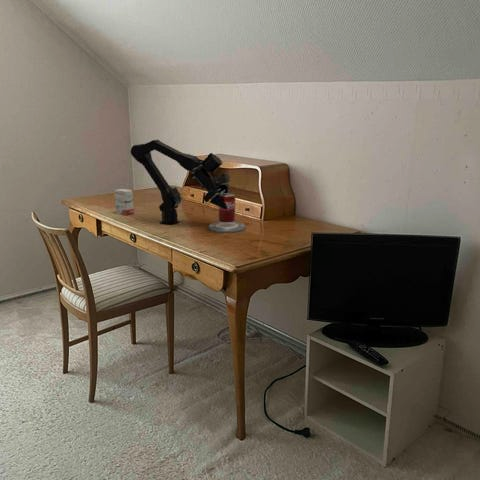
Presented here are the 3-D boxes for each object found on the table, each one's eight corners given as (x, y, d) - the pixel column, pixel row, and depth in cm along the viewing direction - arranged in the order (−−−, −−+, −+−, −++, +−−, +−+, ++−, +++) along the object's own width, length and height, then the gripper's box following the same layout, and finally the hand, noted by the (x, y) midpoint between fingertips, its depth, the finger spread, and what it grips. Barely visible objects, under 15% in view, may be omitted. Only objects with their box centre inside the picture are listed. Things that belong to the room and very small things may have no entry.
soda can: (220, 219, 223) (220, 192, 219) (236, 220, 222) (236, 193, 218) (216, 223, 216) (217, 195, 212) (233, 224, 215) (233, 196, 211)
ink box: (134, 214, 244) (133, 190, 241) (127, 215, 240) (125, 191, 237) (123, 211, 249) (121, 188, 246) (115, 213, 245) (113, 189, 242)
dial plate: (209, 223, 227) (209, 221, 227) (244, 223, 228) (244, 220, 227) (208, 232, 212) (208, 230, 211) (246, 232, 212) (246, 230, 212)
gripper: (210, 170, 205) (235, 199, 205) (225, 165, 222) (249, 191, 222) (192, 188, 209) (217, 216, 209) (209, 181, 226) (232, 207, 226)
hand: (229, 207), depth 217 cm, fingers closed on soda can, 7 cm apart
